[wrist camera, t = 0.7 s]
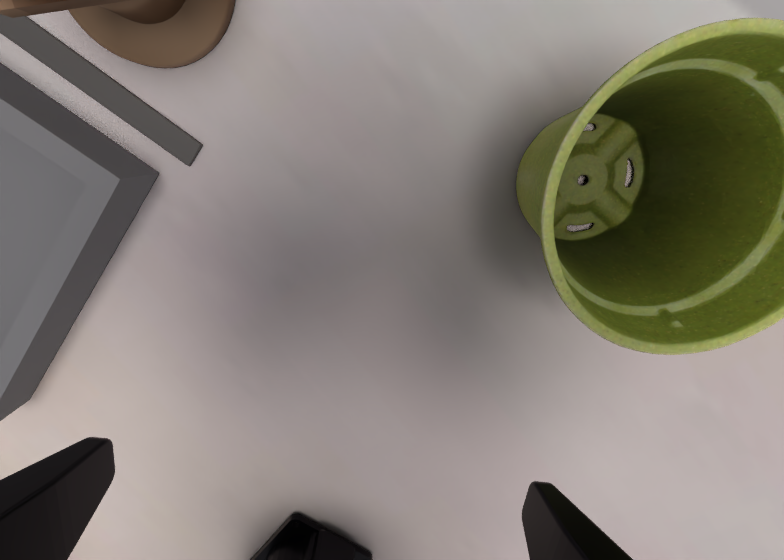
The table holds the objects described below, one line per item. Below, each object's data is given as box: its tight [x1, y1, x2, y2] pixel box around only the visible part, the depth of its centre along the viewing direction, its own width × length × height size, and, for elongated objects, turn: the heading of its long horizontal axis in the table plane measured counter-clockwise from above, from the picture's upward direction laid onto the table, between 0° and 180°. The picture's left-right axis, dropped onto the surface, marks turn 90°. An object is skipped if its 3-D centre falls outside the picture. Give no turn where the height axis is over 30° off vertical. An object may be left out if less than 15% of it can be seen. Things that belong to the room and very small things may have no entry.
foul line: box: [0, 14, 203, 166], centre depth 18 cm, size 1×14×1 cm, turn 52°
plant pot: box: [516, 18, 784, 355], centre depth 16 cm, size 9×9×9 cm
